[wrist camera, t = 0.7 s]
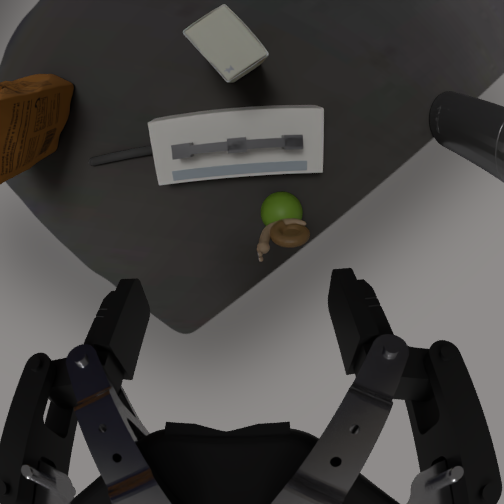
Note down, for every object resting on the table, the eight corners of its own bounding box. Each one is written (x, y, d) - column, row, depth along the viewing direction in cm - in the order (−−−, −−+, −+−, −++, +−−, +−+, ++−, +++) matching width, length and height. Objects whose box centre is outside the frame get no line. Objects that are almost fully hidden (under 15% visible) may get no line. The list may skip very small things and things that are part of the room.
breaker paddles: (298, 134, 31) (302, 134, 29) (299, 148, 31) (303, 149, 29) (176, 144, 31) (171, 145, 29) (177, 158, 31) (172, 159, 29)
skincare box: (261, 63, 29) (273, 57, 19) (232, 83, 30) (229, 86, 20) (229, 25, 26) (225, 1, 16) (199, 46, 27) (180, 31, 17)
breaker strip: (316, 105, 32) (324, 108, 29) (315, 163, 37) (322, 172, 34) (85, 134, 32) (72, 141, 29) (97, 186, 37) (86, 197, 34)
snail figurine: (249, 189, 38) (253, 236, 29) (296, 183, 38) (318, 227, 28) (255, 224, 42) (261, 278, 32) (299, 217, 41) (319, 269, 31)
